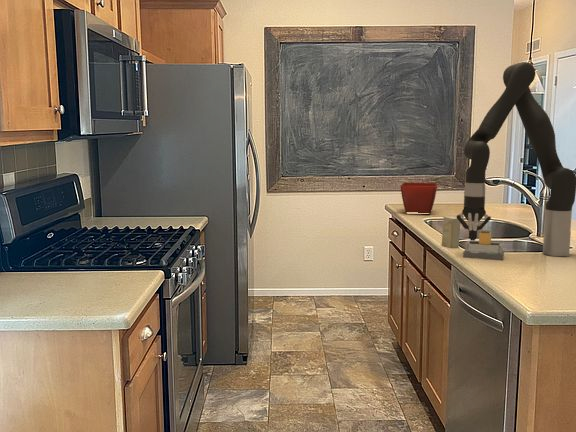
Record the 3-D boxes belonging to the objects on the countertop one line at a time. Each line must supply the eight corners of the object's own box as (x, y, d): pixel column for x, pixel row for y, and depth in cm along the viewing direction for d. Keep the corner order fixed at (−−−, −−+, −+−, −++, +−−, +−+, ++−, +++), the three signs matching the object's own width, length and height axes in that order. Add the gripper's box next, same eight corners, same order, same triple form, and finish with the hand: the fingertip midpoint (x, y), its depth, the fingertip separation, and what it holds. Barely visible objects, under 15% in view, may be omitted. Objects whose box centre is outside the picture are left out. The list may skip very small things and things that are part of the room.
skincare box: (441, 245, 249) (442, 216, 247) (450, 244, 250) (451, 215, 249) (450, 248, 243) (451, 218, 241) (459, 247, 245) (461, 217, 243)
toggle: (490, 250, 228) (491, 230, 227) (489, 252, 225) (490, 232, 224) (479, 249, 230) (480, 230, 229) (478, 251, 226) (479, 231, 225)
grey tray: (504, 255, 229) (504, 242, 228) (502, 260, 221) (503, 246, 220) (466, 252, 234) (466, 240, 234) (463, 257, 226) (463, 244, 225)
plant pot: (399, 215, 336) (400, 185, 334) (403, 210, 354) (404, 182, 352) (434, 216, 331) (435, 186, 328) (436, 212, 349) (437, 183, 346)
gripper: (494, 194, 227) (491, 239, 229) (457, 193, 232) (456, 237, 235) (492, 196, 220) (490, 243, 223) (455, 195, 225) (453, 240, 228)
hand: (472, 240), depth 229 cm, fingers closed
